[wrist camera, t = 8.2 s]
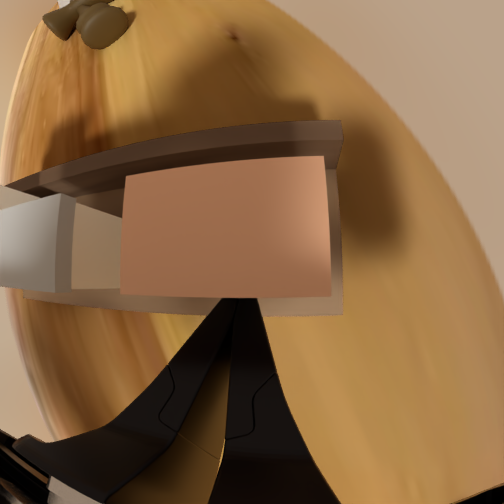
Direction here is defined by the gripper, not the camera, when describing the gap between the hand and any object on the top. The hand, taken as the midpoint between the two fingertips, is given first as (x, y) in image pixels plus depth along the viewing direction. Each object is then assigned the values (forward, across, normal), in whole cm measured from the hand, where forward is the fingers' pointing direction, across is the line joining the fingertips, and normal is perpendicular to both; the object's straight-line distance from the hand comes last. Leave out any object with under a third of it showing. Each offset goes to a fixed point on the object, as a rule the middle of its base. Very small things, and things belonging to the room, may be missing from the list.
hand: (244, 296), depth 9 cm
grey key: (+5, +8, +2) cm, 10 cm away
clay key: (+5, 0, +2) cm, 5 cm away
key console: (+7, +8, +3) cm, 11 cm away
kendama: (+28, +21, -18) cm, 39 cm away
